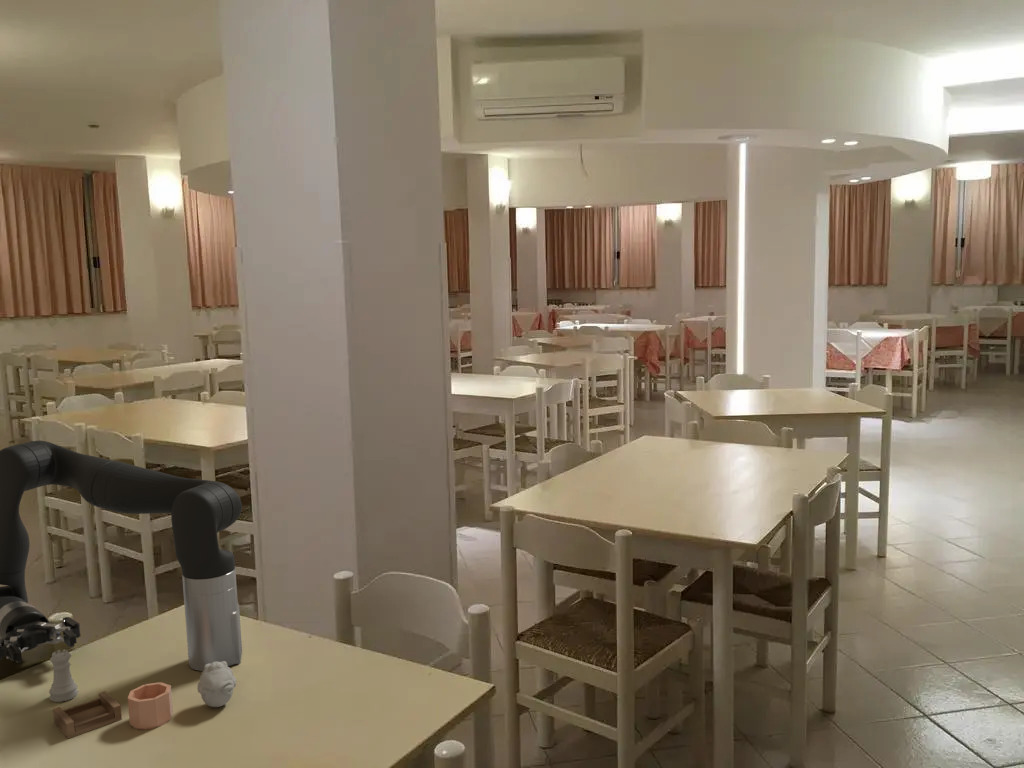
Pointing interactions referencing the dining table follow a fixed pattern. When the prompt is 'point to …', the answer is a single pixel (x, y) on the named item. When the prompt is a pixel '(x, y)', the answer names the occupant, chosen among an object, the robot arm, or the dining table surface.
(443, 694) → the dining table surface
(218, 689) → the frog figurine
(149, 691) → the cup
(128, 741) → the dining table surface
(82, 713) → the trough
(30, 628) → the robot arm
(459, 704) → the dining table surface
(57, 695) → the rook chess piece
